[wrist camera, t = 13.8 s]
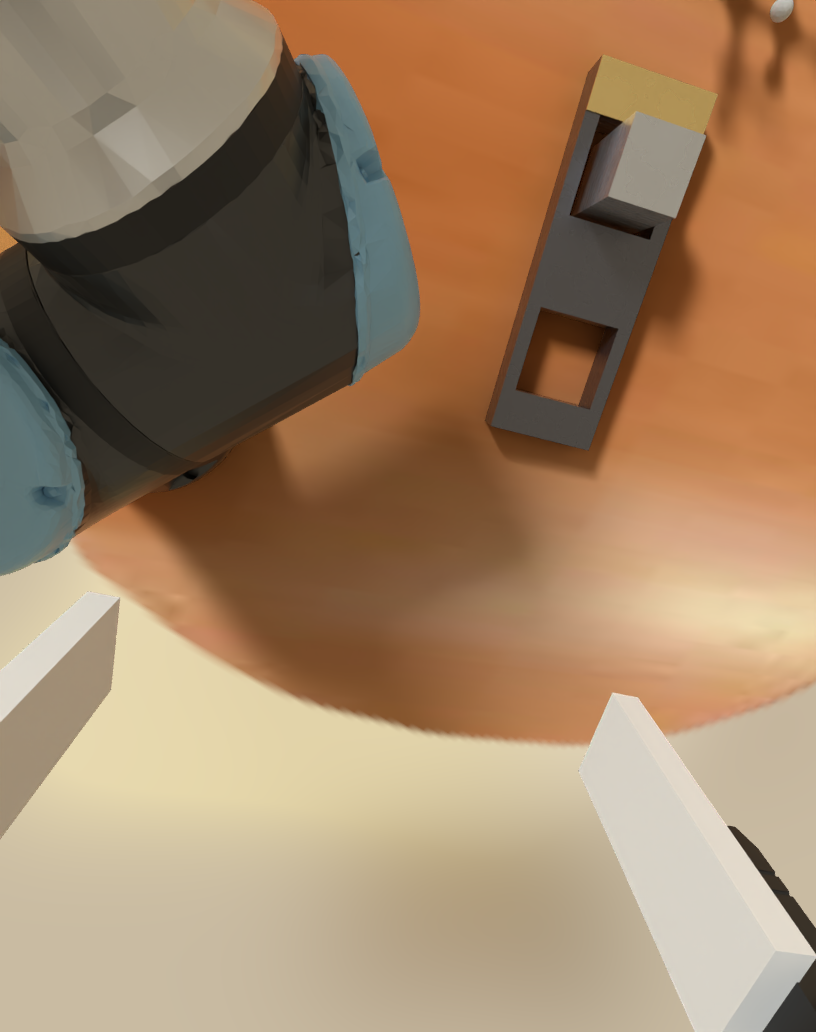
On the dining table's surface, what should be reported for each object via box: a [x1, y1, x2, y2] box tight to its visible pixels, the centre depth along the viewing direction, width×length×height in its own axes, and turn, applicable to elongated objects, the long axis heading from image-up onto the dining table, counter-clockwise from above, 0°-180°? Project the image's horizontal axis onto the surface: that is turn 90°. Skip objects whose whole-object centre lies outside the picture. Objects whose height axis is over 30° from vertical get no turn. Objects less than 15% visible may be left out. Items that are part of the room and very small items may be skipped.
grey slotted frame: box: [485, 54, 718, 450], centre depth 40 cm, size 8×24×3 cm, turn 166°
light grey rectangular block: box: [571, 111, 706, 234], centre depth 36 cm, size 4×4×7 cm
